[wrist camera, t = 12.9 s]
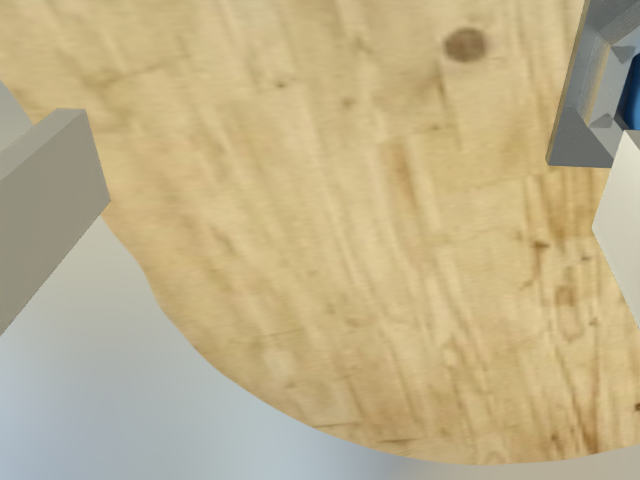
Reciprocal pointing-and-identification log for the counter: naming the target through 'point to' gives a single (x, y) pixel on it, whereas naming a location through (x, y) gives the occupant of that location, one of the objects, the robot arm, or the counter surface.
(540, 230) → the counter surface
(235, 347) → the counter surface
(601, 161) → the flange
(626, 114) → the perfume bottle
